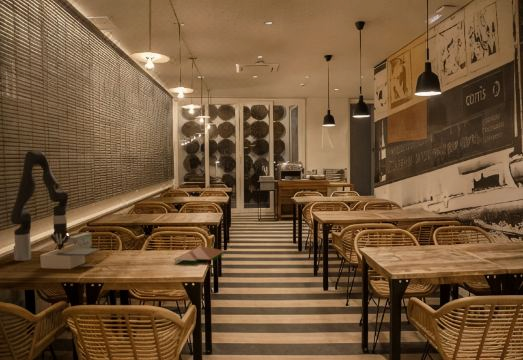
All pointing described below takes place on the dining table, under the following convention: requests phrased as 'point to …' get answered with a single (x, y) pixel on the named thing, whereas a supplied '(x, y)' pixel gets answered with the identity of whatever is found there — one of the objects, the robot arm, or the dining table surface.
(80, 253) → the mailer lid
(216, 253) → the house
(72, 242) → the snack box
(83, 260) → the box
